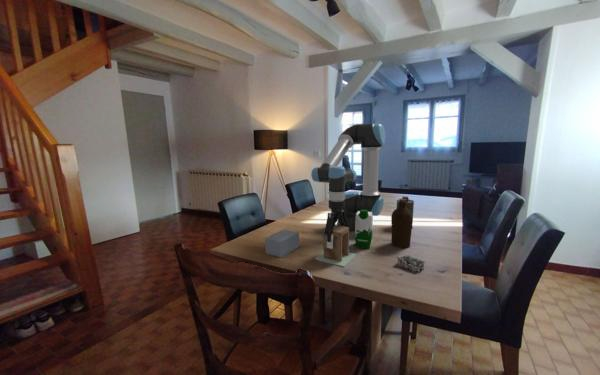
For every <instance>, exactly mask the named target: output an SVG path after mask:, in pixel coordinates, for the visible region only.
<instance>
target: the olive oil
mask: <svg viewBox="0 0 600 375" xmlns="http://www.w3.org/2000/svg"><path fill="white" fill-rule="evenodd" d="M399 199H400V202H399V207H398V208H397V207H396V208H395V209H394V210H393V211H392V213H391V219H390V220H391V223H390V224H391V240H390V241H391V246H393V247H395V246H396V247H395V248H398V247H401V248H400V249H407V248H406V247H408V248H409V246H411V241H412V240H411V238H412V230H413V228H412V227H413V224H412V223H413V222H414V221H413V220H414V214H413V215H412V213H411V212H410V210H409V209H408V208H407V207H406V199H402V198H399Z"/></svg>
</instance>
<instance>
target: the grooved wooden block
mask: <svg viewBox="0 0 600 375" xmlns="http://www.w3.org/2000/svg"><path fill="white" fill-rule="evenodd" d="M324 232H325V228H324V229H323V252H324V258H327V259H331V260H335V261H339V262H341V261H342V255H347V256H348V255H349V251H350V249H349V248H350V246H349V245H350V241H349V240H350V231H349V227H344V226H338V225H337V224H335V226H334V230H333V233H332V235H333V249H330V248H327V235H325V234H324Z"/></svg>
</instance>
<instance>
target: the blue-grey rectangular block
mask: <svg viewBox="0 0 600 375" xmlns="http://www.w3.org/2000/svg"><path fill="white" fill-rule="evenodd" d="M264 246H265V247H264V248H265V254H267V255H270V256H275V257H277V258H283V257H284V256H286V255H288V254H290V253H291V252H293V251H295V250H296V249H297V248H299V247H300V232H299V231H295V230H290V229H285V228H283V229H281V230H279V231H276V232H274V233H273V234H271V235H268V236H266V237H264Z"/></svg>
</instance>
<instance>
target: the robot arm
mask: <svg viewBox="0 0 600 375" xmlns="http://www.w3.org/2000/svg"><path fill="white" fill-rule="evenodd" d="M385 143H386V130H385V127H384V125H383V124H381V123H374V122H373V123H360V124H359V123H357V124H353V125H351V126H349V127H347V128H346V129H345V130H343V131H342V132H341V134H340V135H339V136H338V138H337V142H336V143H335V145H334V147H333V148H332V149H331V151H330V152H329V153H328V155H327V156H326V158H325V160H324V161H323V162H322V164H321V165H320V167H317V166H316V167H314V168H313V169H312V170H311V176H310V177H311V179H312V180H313V182H316V183H326V184H328V193H327V194H328V208H329V209H330V211H331V212H327V218H326V223H325V228H324V229H325V232H324V231H323V235H324V234H325V235H327V248H330V249H333V235H332V233H333V230H334V226H335V225H338V226H344V227H349V232H355V220H356V214H357V212H358V211H360V210H362V209H365V210H368V212H372V216H373V217H377V216H379V215H380V214H381V212H382V211H383V206H384V202H385V201H384V200H385V199H384V197H383V196H381V192H380V191H379V165H380V163H379V161H380V160H379V158H380V155H379V153H380V149H382V147H383V145H384V144H385ZM355 145H360V148H361V149H362V150H363V165H362V166H363V168H362V169H363V175H362V176H363V177H362V178H363V180H362V190H361V191H360V193H359V192H358V191H346V185H350V184H353V183H354V182H355V181H356V180H357V172H356V171H355V169H353V168H349V167H346V168H345V166H341V165H340V164H341V161H342V160H343V158H344V157H345V155H346V154H347V152H348V151H349V149H351V148H352V147H353V146H355ZM339 165H340V166H339Z"/></svg>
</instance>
